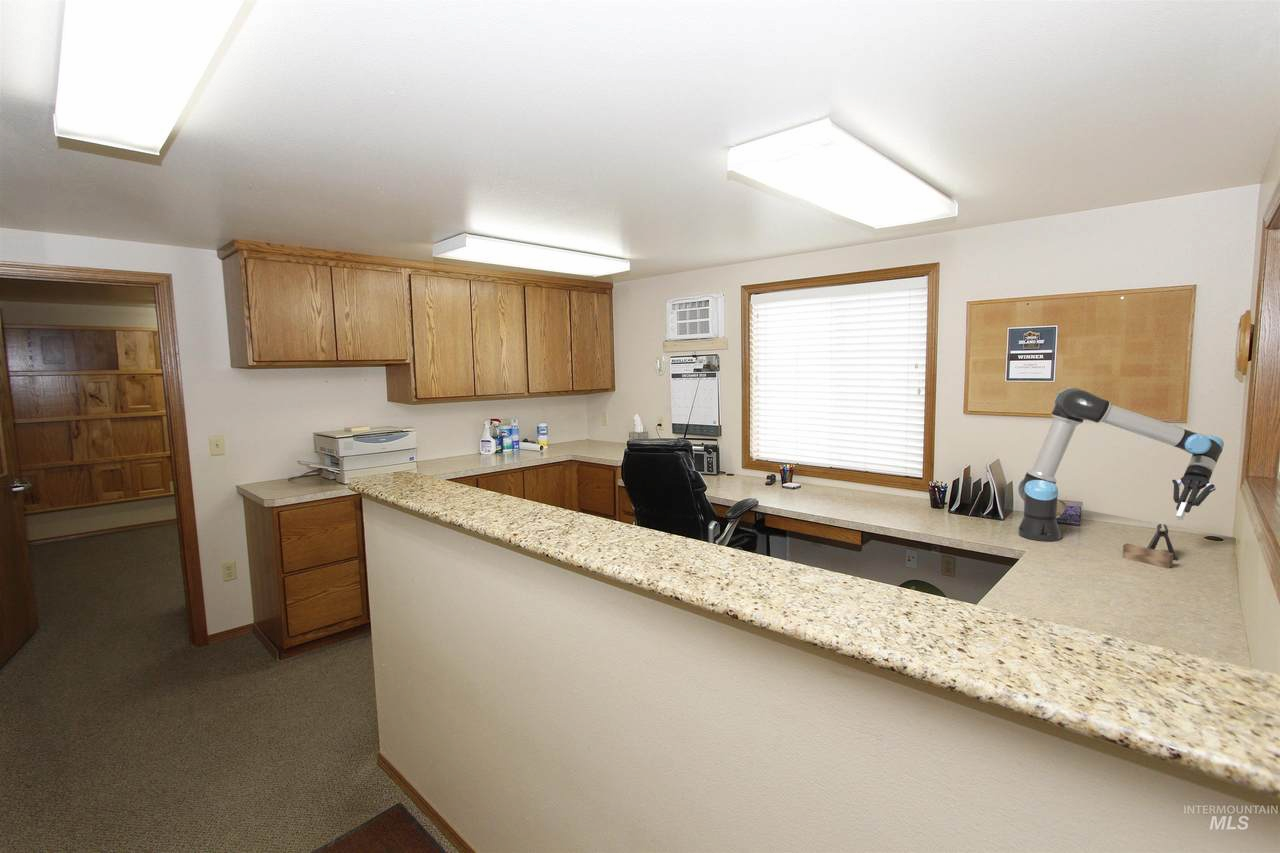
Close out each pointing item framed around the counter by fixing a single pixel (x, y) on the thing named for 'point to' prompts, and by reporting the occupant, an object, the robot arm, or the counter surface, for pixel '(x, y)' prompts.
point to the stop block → (1148, 555)
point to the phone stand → (1165, 534)
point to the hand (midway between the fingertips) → (1179, 517)
